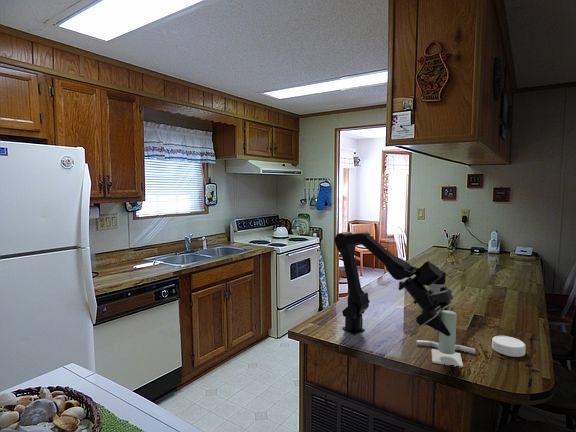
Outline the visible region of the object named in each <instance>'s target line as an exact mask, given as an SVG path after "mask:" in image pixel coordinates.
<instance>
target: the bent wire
mask: <svg viewBox="0 0 576 432" xmlns="http://www.w3.org/2000/svg"><path fill="white" fill-rule="evenodd" d="M415 343H416V344H415V345H416V346H418V347H419V346H420V347H431V348H432V347H433V348H434V349H436V350H438V349H439V342H436V341H433V340H421V339H419V340H417V339H416V342H415ZM455 350H457V351H459V350H460V352H463V351H464V353H467V352H468V353H469V354H472V355H475V354H476V348H474V347H473V348H472V347H469V346H466V345H461V344H455ZM468 353H467V354H468Z"/></svg>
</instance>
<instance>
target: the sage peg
mask: <svg viewBox="0 0 576 432" xmlns="http://www.w3.org/2000/svg"><path fill="white" fill-rule="evenodd" d="M440 313H441V320H442V322H443V323H444V325H445V326H446V328H447V329H448V331H449V332H450V334H451V335H450V336H446V335H445V334H443V333H441V332H439V331H438V333H439V334H438V343H439V349H437V350H439V351H440V352H442V353H444V354H454V353H456V351H455V345H456V337H457V336H456V335H457V318H458V317H457V316H458V315H457V313H456V311H455V312H454V311H452V310H449V311H448V310H443V311H440Z"/></svg>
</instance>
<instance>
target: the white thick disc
mask: <svg viewBox="0 0 576 432" xmlns="http://www.w3.org/2000/svg"><path fill="white" fill-rule="evenodd" d="M491 338H492V339H491V348H492V349H493V350H494V351H495V352H497V353H499V354H500V355H504V356H508V357H512V358H513V357H515V358H520V357H521V358H522V357H524V356H525V355H526V343H524V341H522V340H520V339H518V338H515V337H512V336H507V335H496V336H493V337H491Z"/></svg>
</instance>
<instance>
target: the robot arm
mask: <svg viewBox="0 0 576 432" xmlns="http://www.w3.org/2000/svg"><path fill="white" fill-rule="evenodd" d="M333 239H334V240H333V241H334V244H335V247H336V249H337V252H339V253H340V256H341V257H342V262H343V267H344V272H345V278H346V281H347V287H348V296H347V306H346V307H345V308H344V309H343V310H342V311H341V313H342V316H343V317H345V318H344V319H345V320H344V326H342V330H344V331H346V332H348V333H350V334H352V335H355V334H358V333H361V332H362V333H363V332H364V331H365V328H363V323H364V322H363V319H364V318H363V315H364V314H365V311H367V310H368V308H369V307H370V303H371V301H370V299H369V293H368V292H365V291H364V290H363V289H362V285H361V281H360V280H361V279H360V276H359V271H358V266H357V262H356V257H355V251H356V244H360V245H362V246H363V247H364V248H365V249H367V250H368V251H369V252H370V253H371V254H372V255H373V256H374V257H375V258H376V259H378V260H379V261H380V262H381V263H382V264H383V265H384V266H385V269H386V271H387V272H388V274H389V275H390V276H391V277H392V279H394V280H395V281H399V282H398V291H401V290H403V289H405V290H406V291H407V293H408V294H409V295H410V297H411V298H412V300H413V304H414V305H416V304H417V305H418V307H419V308H420V309H421V313H420V314H419V315H418V316H416V319H415V322H416V323H417V325H419V327H421V326H422V325H425V326H428V327H430V328H432V329H433V330H436V331H438V333H439V332H441V333H443V334H445V335H446V336H450V335H451V334H450V332H449V331H448V329H447V328H446V326H445V325H444V323H443V322H442V320H441V313H440V311H443V310H448V311H450V310H449V309H450V306H449V305H450V304H452V302H451V300H454V297H453V295H452V294H453V291H452V290H451V289H450V288H448V287H447V286H446V285H445V286H444V287H441V288H440V291H438V292H436V293H434V292H433V291H432V290H429V289H427V287H429V286H430V285H431V284H433V283H434V282H435V281H437V280H438V279H439V278H441V277H442V276H443V275H442V272H441V271H442V270H441V269H440V268H439V267H438V266H436V264H434V263H432V262H431V261H429V260H426V261H425V262H424V263H423V264H422V265H421V266H420V267H417V266H413V265H411V264H410V263H409V262H407V261H406V260H404V259H403V258H401V257H398V256H396V255H394V254H392V253H391V252H390V251H389V250H388V249H387V248H386V247H384V246H383V245H382V244H381V243H379V242H378V241H377V240H376V239H375V238H374V237H373V236H371V234H370V233H369V232H367V231H366V232H365V231H364V232H359V233H358V232H356V233H352V232H351V231H345V232H339V233H337V234H336V235H335V237H334V238H333ZM413 276H414V277H413ZM412 277H413V278H412ZM404 279H406V280H404ZM402 280H404V281H402ZM426 286H427V287H426Z"/></svg>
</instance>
